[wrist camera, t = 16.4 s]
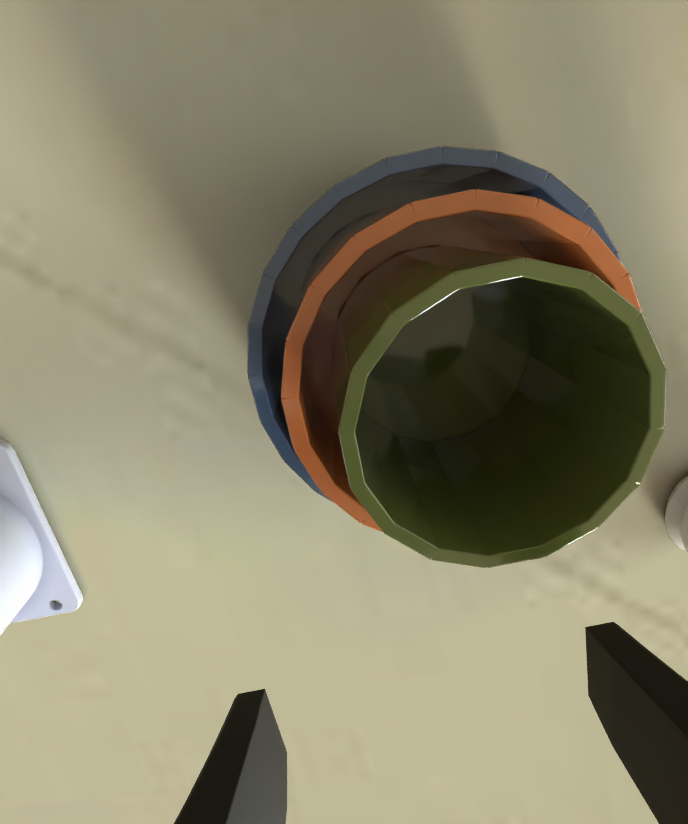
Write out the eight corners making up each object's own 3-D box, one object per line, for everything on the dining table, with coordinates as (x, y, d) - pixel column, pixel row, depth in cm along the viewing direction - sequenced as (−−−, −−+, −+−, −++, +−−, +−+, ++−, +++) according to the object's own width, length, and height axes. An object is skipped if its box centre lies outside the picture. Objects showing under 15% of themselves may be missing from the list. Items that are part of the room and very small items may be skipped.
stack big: (302, 479, 20) (295, 555, 16) (232, 205, 17) (198, 197, 12) (558, 429, 20) (630, 491, 15) (544, 139, 16) (633, 105, 12)
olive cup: (353, 459, 16) (372, 590, 10) (314, 270, 14) (309, 301, 8) (538, 424, 16) (662, 536, 10) (526, 227, 14) (672, 227, 8)
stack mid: (322, 449, 20) (323, 571, 13) (273, 233, 17) (239, 237, 10) (529, 409, 20) (644, 510, 13) (513, 183, 17) (651, 152, 10)
